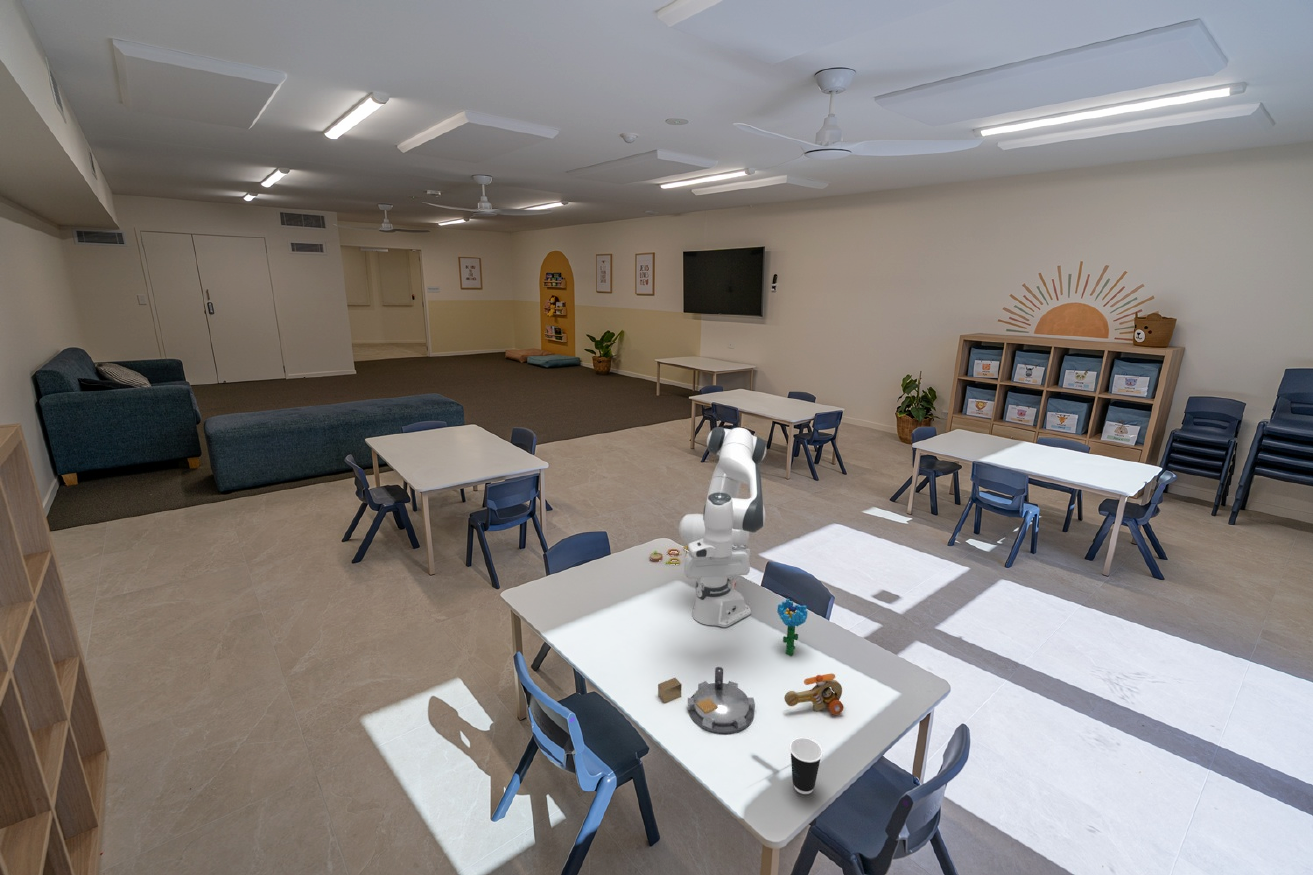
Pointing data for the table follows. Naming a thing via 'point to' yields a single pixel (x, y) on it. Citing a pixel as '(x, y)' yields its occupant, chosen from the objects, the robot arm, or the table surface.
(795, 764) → the dixie cup
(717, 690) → the sprocket
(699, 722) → the sprocket base
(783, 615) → the toy flower
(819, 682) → the toy helicopter
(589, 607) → the table surface
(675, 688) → the wooden block
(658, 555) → the toy tea set
